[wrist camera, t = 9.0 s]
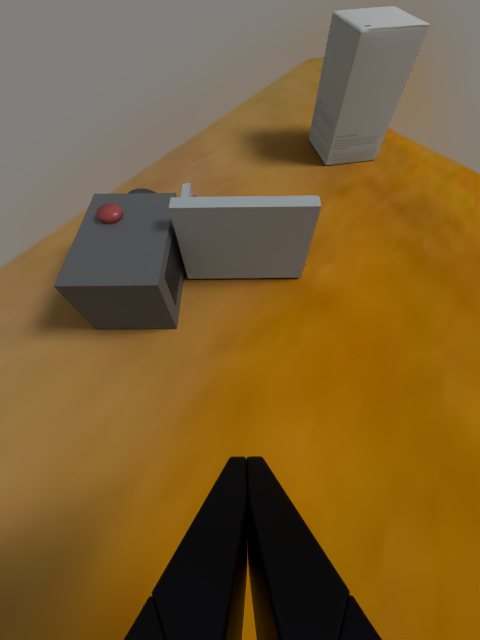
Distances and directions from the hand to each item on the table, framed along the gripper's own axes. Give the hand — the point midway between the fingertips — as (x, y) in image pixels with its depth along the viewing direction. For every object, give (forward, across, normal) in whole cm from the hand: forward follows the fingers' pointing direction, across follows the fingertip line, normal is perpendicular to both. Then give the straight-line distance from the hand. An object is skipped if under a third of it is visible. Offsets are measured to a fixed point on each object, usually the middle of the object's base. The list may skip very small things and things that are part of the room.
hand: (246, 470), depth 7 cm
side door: (+22, 0, -5) cm, 23 cm away
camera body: (+21, +9, -3) cm, 23 cm away
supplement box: (+37, -14, -19) cm, 44 cm away
